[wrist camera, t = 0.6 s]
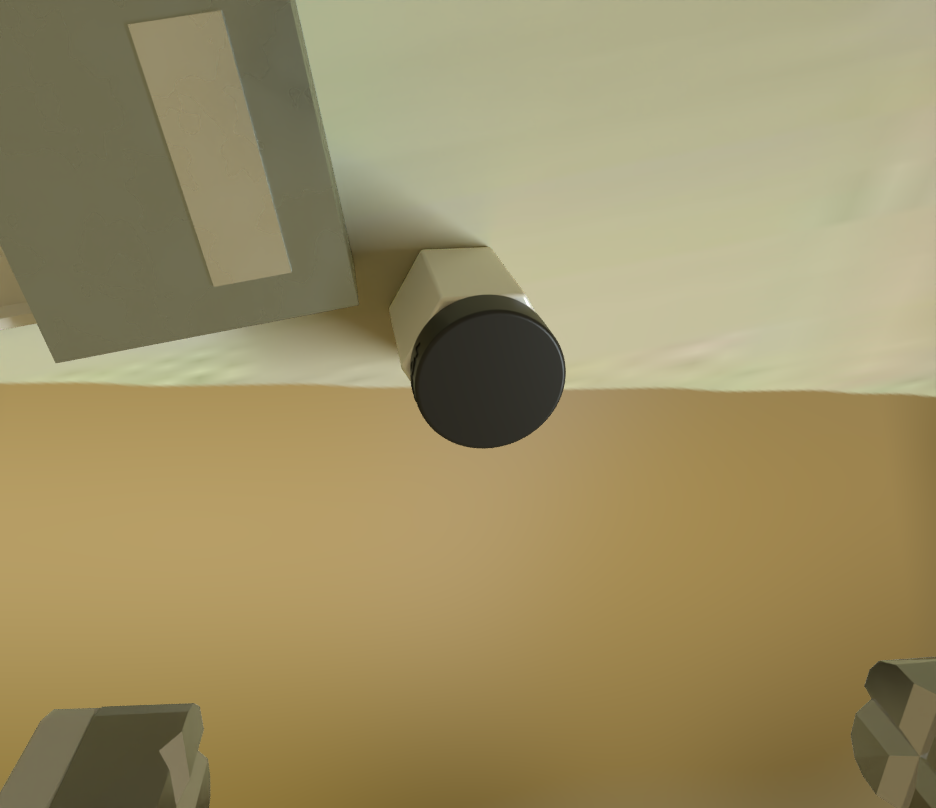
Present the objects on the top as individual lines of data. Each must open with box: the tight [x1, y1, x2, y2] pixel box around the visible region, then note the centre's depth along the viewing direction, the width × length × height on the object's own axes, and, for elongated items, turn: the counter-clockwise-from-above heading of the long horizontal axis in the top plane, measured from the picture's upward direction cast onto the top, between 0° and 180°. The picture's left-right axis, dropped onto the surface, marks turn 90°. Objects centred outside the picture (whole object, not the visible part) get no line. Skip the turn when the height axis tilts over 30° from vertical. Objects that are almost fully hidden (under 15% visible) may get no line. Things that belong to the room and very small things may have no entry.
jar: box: [389, 247, 566, 448], centre depth 42 cm, size 9×8×12 cm
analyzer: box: [0, 0, 359, 363], centre depth 37 cm, size 17×16×8 cm
